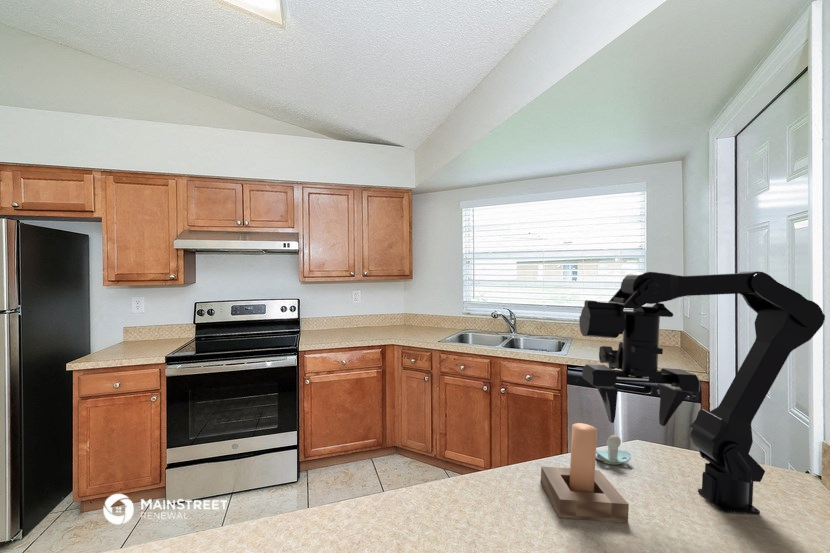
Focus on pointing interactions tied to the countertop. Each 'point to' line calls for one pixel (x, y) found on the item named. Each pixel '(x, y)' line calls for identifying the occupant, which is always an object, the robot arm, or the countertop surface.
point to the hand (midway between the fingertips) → (636, 423)
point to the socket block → (583, 497)
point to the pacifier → (613, 452)
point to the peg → (583, 458)
